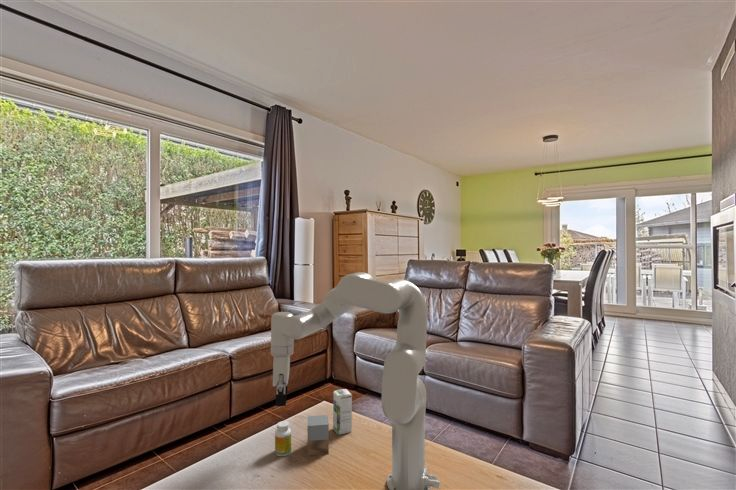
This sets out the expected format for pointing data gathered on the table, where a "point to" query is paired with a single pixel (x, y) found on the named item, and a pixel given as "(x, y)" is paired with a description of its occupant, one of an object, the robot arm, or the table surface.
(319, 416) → the tower top block
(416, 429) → the robot arm
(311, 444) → the tower bottom block
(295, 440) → the table surface
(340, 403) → the syrup box
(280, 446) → the supplement bottle
